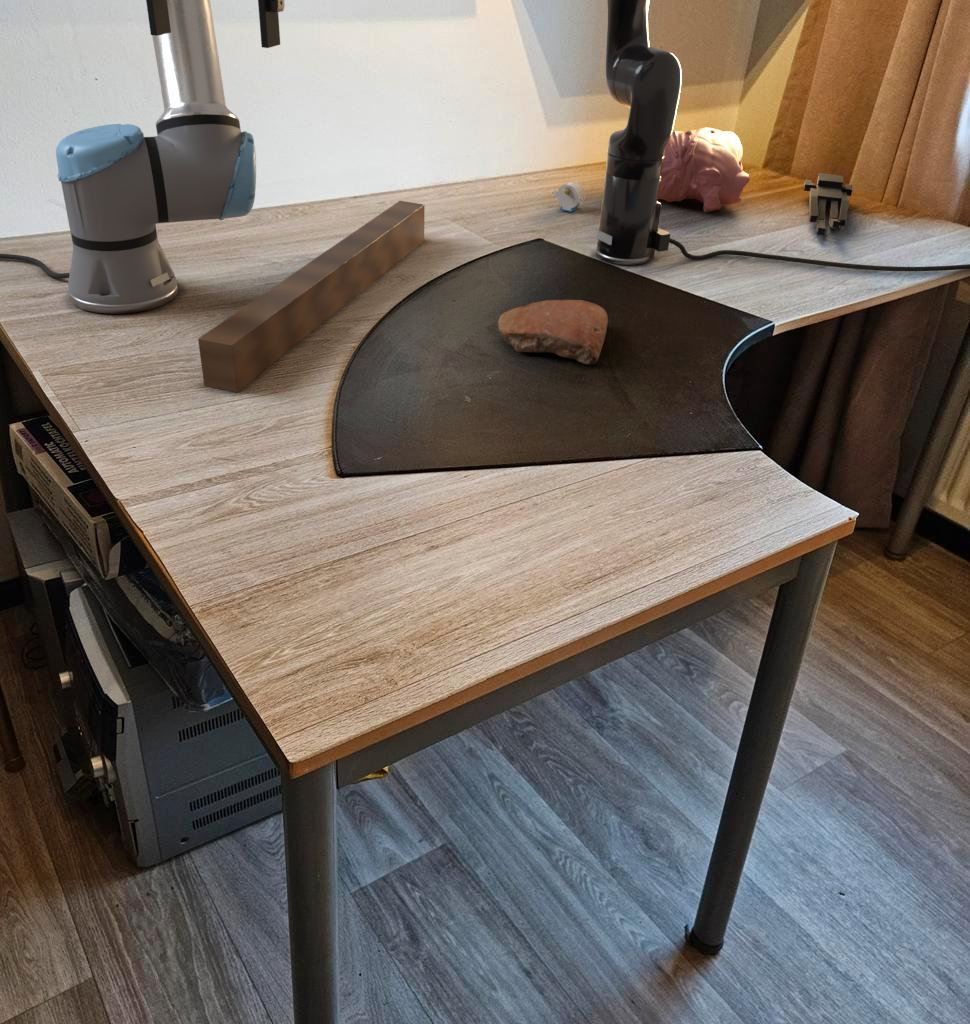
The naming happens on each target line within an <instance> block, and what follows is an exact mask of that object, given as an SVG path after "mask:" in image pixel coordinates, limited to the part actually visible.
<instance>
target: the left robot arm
mask: <svg viewBox="0 0 970 1024" xmlns="http://www.w3.org/2000/svg"><path fill="white" fill-rule="evenodd" d="M145 2H146V10H147V17H148V24H149V31H150V36H152V42H153V48H154V54H155V60H156V66H157V72H158V73H157V74H158V78H159V85H160V91H161V97H162V103H163V108H164V110H163V113H162V114H161V115H160V117H158V119H157V120H156V122H155V128H156V135H154V136H144V132H143V131H142V129H141V128H140V126H138V125H135V124H131V123H130V124H129V123H126V124H121V123H111V124H104V125H97V126H92V127H88V128H83V129H81V130H77V131H75V132H73V133H70V134H67V136H65V137H63V138H62V139H61V140H60V141H59V142H58V144H57V146H56V148H55V156H56V157H55V158H56V163H57V172H58V173H57V179H58V181H59V182H60V184H61V190H62V193H63V199H64V205H65V210H66V216H67V221H68V226H69V232H70V236H71V241H72V253H71V263H70V270H69V272H63V273H62V272H61V273H59V272H55V271H52V270H50V268H49V267H48V266H47V265H46V264H45V263H44V262H42V261H41V260H39V259H37V258H34V257H31V256H26V255H22V254H10V253H0V260H13V261H22V262H25V263H30V264H34V265H36V266H38V267H39V268H41V270H42V271H43V272H44V273H45V274H46V275H47V276H49V277H51V278H54V279H60V280H61V279H68V282H67V283H68V287H67V288H68V295H69V300H70V302H71V303H72V304H73V305H74V306H75V307H77V308H79V309H81V310H83V311H88V312H92V313H99V314H110V315H115V314H117V315H118V314H131V313H140V312H144V311H145V312H146V311H149V310H152V309H156V308H158V307H162V306H164V305H166V304H168V303H170V302H171V301H173V300H174V299H175V298H176V297H177V295H178V293H179V288H178V281H177V277H176V275H175V272H174V270H173V268H172V267H171V264H170V262H169V260H168V257H167V256H166V254H165V253H164V250H163V248H162V246H161V244H160V242H159V239H158V233H157V226H156V225H157V224H166V223H167V224H169V223H179V222H180V223H181V222H182V223H183V222H196V221H208V220H219V221H223V220H226V219H234V218H241V217H245V216H247V215H248V214H249V213H250V212H251V211H252V210H253V208H254V204H255V198H256V188H257V187H256V186H257V158H256V157H257V156H256V155H257V154H256V153H257V152H256V146H255V142H254V141H255V139H254V136H253V134H252V133H250V132H247V131H242V130H241V123H240V118H239V117H238V116H237V114H234V112H232V111H231V110H230V109H229V108H228V107H227V103H226V97H225V89H224V83H223V77H222V70H221V64H220V57H219V51H218V44H217V37H216V31H215V25H214V19H213V18H214V17H213V12H212V5H211V1H210V0H145ZM257 3H258V5H257V6H258V17H259V30H260V31H259V32H260V43H261V48H262V49H263V48H265V49H269V48H274V47H277V46H280V45H281V33H280V18H279V13H280V12H281V13H282V12H284V9H285V0H257Z"/></svg>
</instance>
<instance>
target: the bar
mask: <svg viewBox="0 0 970 1024" xmlns="http://www.w3.org/2000/svg"><path fill="white" fill-rule="evenodd" d="M423 242H425V203H418V202H411V201H404V200H398V201H397V202H395V203H394V204H392V205H391V206H390V207H389V208H387V209H385V210H383V211H382V212H381V213H379V214H378V215H377V216H375V217H374V218H372V219H371V220H369V221H368V222H366V223H365V224H364V225H361V226H360V227H359V228H358V229H356V230H355V231H353V232H351V233H350V234H349V235H347V236H346V237H343V239H341V240H340V241H339V242H337V243H335V244H334V245H333V246H331V247H330V248H328V249H327V250H326V251H324V252H323V253H321V254H320V255H318V256H317V257H315V258H314V259H312V260H310V261H309V262H308V263H305V265H303V266H302V267H301V268H299V269H298V270H296V271H295V272H293V273H292V274H290V275H289V276H288V277H286V278H284V279H283V280H282V281H279V283H277V284H276V285H274V286H273V287H271V288H269V290H267V291H265V292H264V293H262V294H261V295H260V296H258V297H257V298H255V299H254V300H252V301H251V302H249V303H248V304H246V305H245V306H243V307H242V308H241V309H239V310H238V311H236V312H235V313H233V314H232V315H230V316H229V317H227V318H226V319H224V320H223V321H222V322H220V323H219V324H217V325H216V326H214V327H213V328H211V329H210V330H208V331H207V332H206V333H204V334H203V335H201V336H199V337H198V338H197V342H198V349H199V357H200V365H201V373H202V379H203V386H204V387H209V388H214V389H218V390H223V391H228V392H233V393H239V392H240V391H241V390H242V389H244V388H245V387H246V386H247V385H248V384H250V383H251V382H252V381H253V380H254V379H255V378H257V377H259V376H260V375H261V374H262V373H263V372H264V371H266V370H267V369H268V368H269V367H270V366H272V365H273V364H274V363H276V361H278V360H279V359H281V358H282V357H283V356H284V355H285V354H286V353H288V352H289V351H290V350H292V349H293V348H294V347H295V346H296V345H297V344H299V343H301V341H302V340H304V339H305V338H306V337H307V336H309V335H310V334H311V333H312V332H313V331H315V330H316V329H317V328H319V327H320V326H321V325H322V324H324V323H325V322H326V321H327V320H329V318H331V317H332V316H333V315H335V314H336V313H337V312H339V311H340V310H341V309H342V308H343V307H344V306H346V305H347V304H348V303H350V302H351V301H352V300H354V298H356V297H357V296H358V295H359V294H361V293H362V292H363V291H364V290H366V289H367V288H368V287H369V286H370V285H371V284H372V283H374V282H375V281H376V280H378V279H379V278H380V277H381V276H382V275H384V274H385V273H386V272H388V271H389V270H391V269H392V267H394V266H395V265H396V264H397V263H399V262H400V261H401V260H402V259H404V258H405V257H406V256H407V255H408V254H410V253H411V252H412V251H413V250H415V249H417V247H418V246H420V245H421V244H422V243H423Z"/></svg>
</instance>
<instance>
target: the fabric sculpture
mask: <svg viewBox="0 0 970 1024" xmlns="http://www.w3.org/2000/svg"><path fill="white" fill-rule="evenodd" d="M742 159H743V145H742V144H741V141H740V138H739V137H738V135H736V133H734V132H732V131H722V130H720V129H716V128H713V127H700V128H698V129H693V130H688V131H680V130H679V131H678V130H676V131H674V130H673V131H672V134H671V137H670V139H669V141H668V143H667V145H666V147H665V151H664V157H663V164H662V171H661V179H660V186H659V193H658V199H659V200H663V201H665V202H667V203H671V202H678V203H679V202H682V201H684V200H685V199H688V200H697V201H698V202H700V203H701V204H703V207H702V209H703V212H704V213H709V212H712V211H713V212H714V211H719V210H721V207H724V206H732V205H736V204H739V203H740V202H741V201H742V197H741V196H742V195H741V194H742V192H743V191H744V189H745V187H746V186H747V185H748V184H749V183H750V174H749V173H747V172H745V171H744V170H743V163H742Z"/></svg>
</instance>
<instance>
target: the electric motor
mask: <svg viewBox="0 0 970 1024" xmlns="http://www.w3.org/2000/svg"><path fill="white" fill-rule="evenodd" d="M554 194H555V195H554ZM551 196H552V198H556V199H557V200H556V201H557V202H558V204H559V206H560V211H564V212H569V213H572V212H574V211H576V210H578V209H579V207H580V205H582V203H584V201H585V199H586V190H585V188H584V186H583V185H582V184H581V183H580V182H579V181H570V182H568V183H566V184H563V185H562V186H560V187H559V188H558V190H557V191H556V190H553V191H552V192H551Z"/></svg>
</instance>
